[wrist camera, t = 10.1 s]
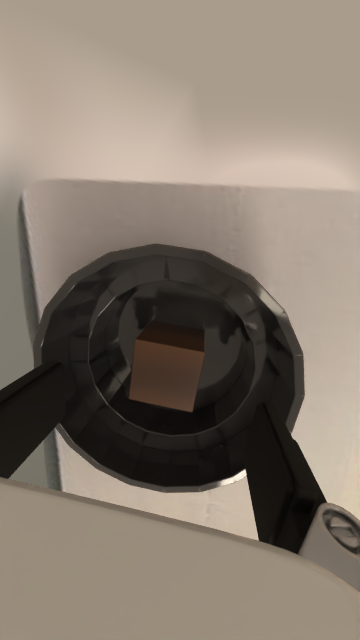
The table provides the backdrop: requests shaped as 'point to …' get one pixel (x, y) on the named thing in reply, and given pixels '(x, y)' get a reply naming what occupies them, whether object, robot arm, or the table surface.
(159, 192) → the table surface
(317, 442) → the table surface
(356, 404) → the table surface
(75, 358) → the shallow round bowl
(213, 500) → the table surface
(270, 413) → the robot arm
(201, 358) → the block
